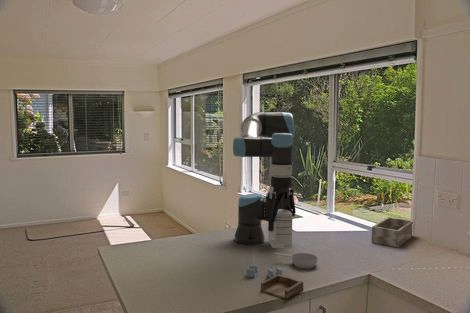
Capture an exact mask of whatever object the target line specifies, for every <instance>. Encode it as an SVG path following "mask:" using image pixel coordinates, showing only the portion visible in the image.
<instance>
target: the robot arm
mask: <svg viewBox="0 0 470 313" xmlns="http://www.w3.org/2000/svg"><path fill="white" fill-rule="evenodd" d="M240 125H241V126H240V131H241V133H240V136H238V137H236V136H235V137H234V138H233V140H232V141H233V142H232V154H233V156H234V157H238V158H239V157H240V158H269V188H268V191H267V192H266V196H263V195H262V194H261V193H256V192H255V193H249V194H248V193H247V194H244V195H241V196H240V197H239V198H238V203H237V204H238V205H237V208H238V210H237V211H238V212H237V213H238V214H237V228H236V230H235V232H234V233H235V234H234V241H235V240H236V241H237V242H240V243H244V244H243V245H247V244H250V246H253V245H260V244H262V243H265V241H266V240H265V238H266V237H265V233H264V231H263V227H262V226H263V225H262V221H264V222H267V223H268V225H267V226H268V228H267V230H268V231H267V232H268V233H267V234H268V240H269V239H270V240H274V241H275V240H276V222H275V219H276V215H277V212H278V209H287V210H289V211H290V212H291V213H292V218H293V217H296V213H297V212H296V204H295V198H294V196H295V195H294V193H295V192H294V189H293V188H292V186H293V177H292V175H293V147H294V146H293V145H294V138H295V136H296V135H295V132H296V131H295V122H294V116H293V114H292V113H291V112H284V111H281V112H279V111H276V112H275V111H274V112H273V111H271V112H270V111H269V112H266V111H264V112H263V111H260V112H256V113H255V112H254V113H253V114H250V115H249V116H247V117H245V118H244V119H243V120H242V123H241V124H240ZM236 241H235V242H236ZM237 242H236V243H237ZM240 243H239V244H240ZM251 244H252V245H251Z"/></svg>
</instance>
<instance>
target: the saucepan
mask: <svg viewBox="0 0 470 313" xmlns="http://www.w3.org/2000/svg"><path fill="white" fill-rule="evenodd" d="M275 255H278V256H283V257H288V258H291V261H292V263H293V265H294V266H295V267H296V268H300V269H306V270H307V269H313V268H314V267H316V265H317V263H318V259H319V258H318V256H317V255H315V254H312V253H308V252H307V253H306V252H299V253H294V254H286V253H282V252H281V253H280V252H275Z"/></svg>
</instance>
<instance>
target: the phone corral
mask: <svg viewBox="0 0 470 313" xmlns="http://www.w3.org/2000/svg"><path fill="white" fill-rule="evenodd" d="M411 221H412V220H409V219H404V218H403V219H402V218H396V217H390V216H389V217H387V218H385V219H384V220H381V221H380V222H377V223H376V224H374V225H373V226H371V243H374V244H380V245H385V246H391V247H394V248H399V247H401V246H402V245H403V244H405V243H406V242H407V241H408V240H409V239H411V238H412V237H413V236H412V224H413V222H411ZM411 236H412V237H411Z"/></svg>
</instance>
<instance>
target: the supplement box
mask: <svg viewBox="0 0 470 313" xmlns="http://www.w3.org/2000/svg"><path fill="white" fill-rule="evenodd" d="M275 222H276V240H275V241H274V240H270V239H268V243H269V244H270V246H271V249H292V248H293V216H292V213H291V212H290V211H289V210H287V209H278V212H277V215H276V219H275Z"/></svg>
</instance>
